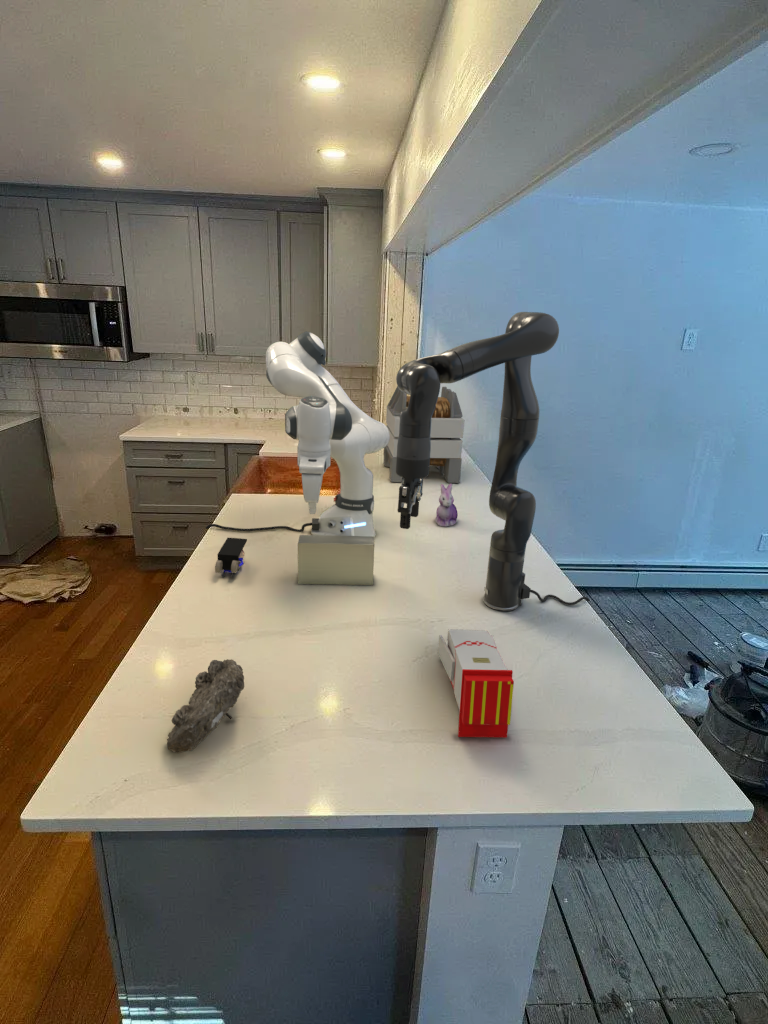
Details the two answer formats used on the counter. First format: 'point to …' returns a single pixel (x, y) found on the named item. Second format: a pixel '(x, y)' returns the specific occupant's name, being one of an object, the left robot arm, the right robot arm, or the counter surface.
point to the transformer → (443, 435)
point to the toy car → (230, 556)
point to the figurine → (446, 508)
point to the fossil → (206, 705)
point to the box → (335, 559)
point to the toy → (478, 682)
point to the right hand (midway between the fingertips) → (409, 521)
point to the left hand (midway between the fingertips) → (313, 507)
